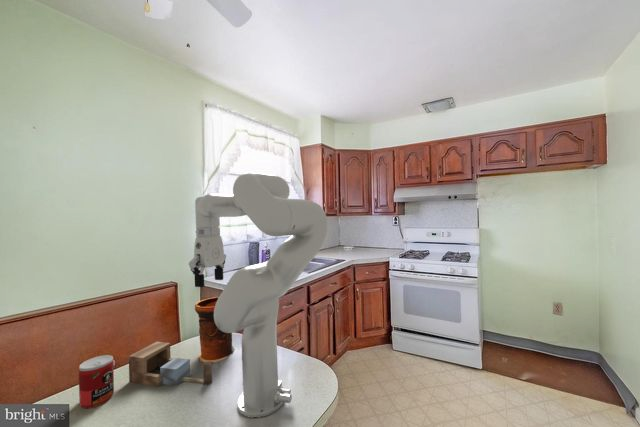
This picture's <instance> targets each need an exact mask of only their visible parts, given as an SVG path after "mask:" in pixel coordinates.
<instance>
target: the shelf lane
mask: <svg viewBox="0 0 640 427" xmlns="http://www.w3.org/2000/svg"><path fill="white" fill-rule="evenodd" d="M174 358H175V357H171V343H170V342H162V341H155V342H153V343H150V344H149V345H148V346H146V347H144V348H142V349H140V350H137V351H136V352H134V353H132V354H131V355H129V356H128V376H129V377H128V379H129V383H134V384H139V385H144V386H145V385H146V386H149V387H151V386H152V387H156V388H159V387H161V386H162V385H163V384H162V375H160V373H159V374H158V373H152V372H151V371H154V369H156V368H160V367H162V366H163V365H165V364H166V363H168V362H169V361H171V360H172V359H174Z"/></svg>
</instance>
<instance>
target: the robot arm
mask: <svg viewBox="0 0 640 427" xmlns="http://www.w3.org/2000/svg"><path fill="white" fill-rule="evenodd" d="M290 193H291V192H290V186H289V184H288V182H287V181H286V180H285V179H283V178H282V177H281V176H279V175H275V174H270V173H269V174H268V173H262V172H255V171H247V172H243V173H242V174H240V175H238V176H237V178H236V179H235V180H234V183H233V187H232V194H227V193H224V194H223V193H207V194H205V195H203V196H199V197H196V199H195V201H194V207H195V208H194V209H195V235H196V237H195V241H194V249H193V252H194V253H193V254H194V255H193V258H192V259H191V260H190V261H189V262H188V266H189V268H190V271H191V272H192V275H194V287H195V288H203V287H205V274H204V271H205V269H206V268H213V267H215V268H214V280H215V281H223V280H224V268H225V264H226V259H227V254H225V250H224V243H223V239H222V236H221V224H220V222H221V221H220V218H223V217H224V218H227V217H228V218H235V217H236V218H237V217H243V216H247V217H248V218H249V219H250V221H251V222H252V223H253V224H254V225H255V227H256V228H257V229H258V230H259V231H260V232H262V233H263V234H264V235H267V236H269V237H284V236H285V237H287V236H289V237H288V238H287V239H286V240H284V241H283V242H282V243H281V244H280V245H278V247H277V248H276V250H275V251H274V253H273V254H272V256H271V257H270V258H269V259H268V260H266V261H265V262H262V263H257V264H252V265H249V266H244V267H242V268H239V269H238V270H237V271H235V273H233V274H232V276H231V277H230V278H229V280H228V282H227V283H226V285H225V287H224V288H223V291H222V292H221V293H220V295H219V296H218V297H219V298H218V300H217V302H216V305H215V308H214V321H215V324H216V326H217V327H218V329H219V330H221V331H222V332H225V333H232V334H233V333H236V332H238V331H241V330H243V332H242V336H241V361H242V362H241V364H242V365H241V366H242V393H241V394H240V395H239V397H238V400H237V409H238V411H239V413H240V414H241V415H243V416H245V417H247V416H249V417H248V418H253V417H257V418H262V417H261V416H263V417H266V415H267V416H269V415H271V414H273V413H275V412H276V411H277V410H278V409H280V408H281V406H282V405H283V403H286V404H287V403H288V404H291V402H292V396H293V395H292V394H291V392H292V390H291V389H290V388H284V387H283V382H282V380H279V369H278V368H279V366H278V365H279V364H278V344H277V342H278V338H277V336H278V334H277V326H278V325H277V324H278V315H279V308H280V298H281V297H283V296H285V295H286V294H287V293H288V291H289V290H290V289H291V287H292V286H293V285H294V283H296V281H297V280H298V279H299V277H300V275H302V274H303V272H304V270H305V269H306V267H307V266H309V264H310V263H311V262H312V260H313V259H315V258H316V255H317V254H318V253H319V252H320V250H321V249H322V247H323V245H324V243H325V241H326V238H327V236H328V235H327V233H328V219H327V218H328V217H327V214H326V213H325V212H326V211H325V210H324V208H323V207H322V206H321V205H320V204H318V203H317V202H315V201H312V200H308V199H301V198H289V196H290Z"/></svg>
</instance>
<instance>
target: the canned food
mask: <svg viewBox="0 0 640 427" xmlns="http://www.w3.org/2000/svg"><path fill="white" fill-rule="evenodd" d="M114 381H115V380H114V357H113V355H109V354H106V355H104V354H103V355H99V356H95V357H91V358H89V359H87V360H85V361H83V362H82V363H81V364H79V367H78V395H79V397H78V400H79V405H80V407H81V408H83V409H92V408H95V407H97V406H101V405H102V404H105V403H107V402H108V401H109V400H110V399H112V397H113V395H114V393H115V392H114V391H115V390H114V389H115V384H114Z"/></svg>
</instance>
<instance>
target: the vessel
mask: <svg viewBox="0 0 640 427" xmlns="http://www.w3.org/2000/svg"><path fill="white" fill-rule="evenodd" d="M218 298H219V296H215V297H210V298H206V299H202V300H199V301H197V302H196V303H195V305H194V310H195V312H196V314H197V315H198V328H199V329H198V333H199V344H200V353H199V354H198V360H200V362H203V363H205V362H208V361H210V362H211V363H216V362H219V361H222V360H225V359H226V358H228V357H230V355H233V353H234V352H235V350H236V348H234V346H233V333H225V332H222V331H221V330H219V329H218V327H217V326H216V324H215V321H214V308H215V305H216V302H217V300H218Z"/></svg>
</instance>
